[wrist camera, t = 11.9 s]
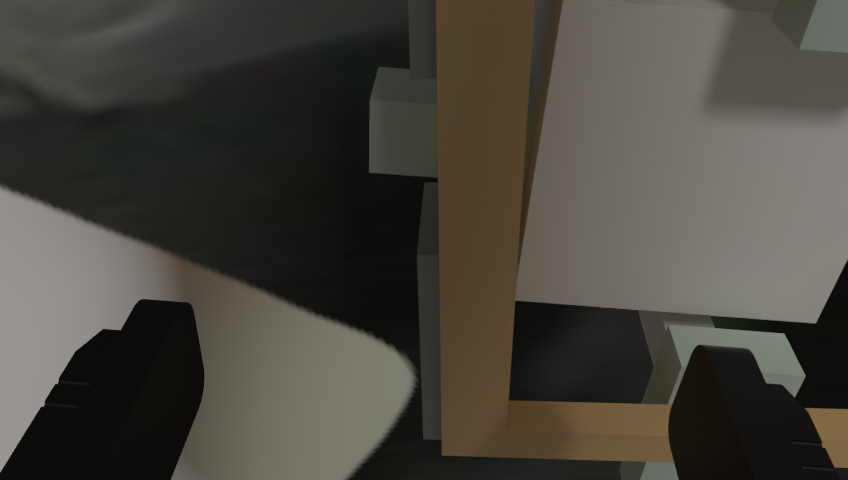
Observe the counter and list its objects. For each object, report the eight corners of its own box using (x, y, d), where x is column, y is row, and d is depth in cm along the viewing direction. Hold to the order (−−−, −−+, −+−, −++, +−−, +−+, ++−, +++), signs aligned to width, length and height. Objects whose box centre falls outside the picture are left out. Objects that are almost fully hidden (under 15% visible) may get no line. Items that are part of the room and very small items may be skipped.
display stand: (418, -350, 22) (350, -435, 10) (924, -317, 22) (1508, -360, 9) (397, 209, 33) (354, 490, 21) (724, 233, 33) (869, 531, 21)
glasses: (412, -333, 12) (391, -350, 9) (1288, -362, 12) (1599, -391, 8) (429, 345, 22) (422, 454, 19) (917, 355, 21) (998, 472, 18)
